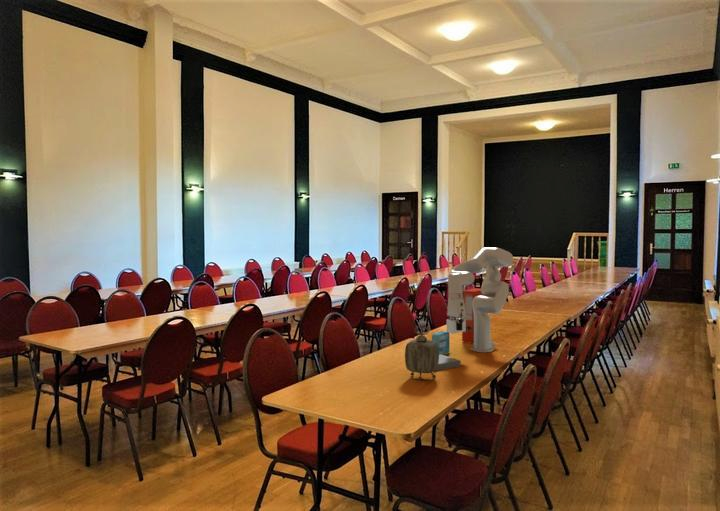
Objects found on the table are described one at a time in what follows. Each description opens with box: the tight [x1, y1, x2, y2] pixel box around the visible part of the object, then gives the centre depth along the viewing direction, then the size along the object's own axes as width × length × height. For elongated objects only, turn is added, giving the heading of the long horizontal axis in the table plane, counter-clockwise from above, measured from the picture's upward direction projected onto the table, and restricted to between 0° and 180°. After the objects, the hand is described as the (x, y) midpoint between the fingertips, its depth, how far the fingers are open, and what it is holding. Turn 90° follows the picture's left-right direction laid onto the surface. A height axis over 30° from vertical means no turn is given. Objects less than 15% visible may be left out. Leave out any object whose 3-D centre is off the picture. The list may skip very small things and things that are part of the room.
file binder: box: [461, 287, 484, 344], centre depth 329 cm, size 8×17×32 cm, turn 142°
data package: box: [431, 330, 450, 355], centre depth 295 cm, size 12×4×12 cm, turn 140°
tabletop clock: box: [404, 325, 439, 381], centre depth 246 cm, size 14×9×25 cm, turn 66°
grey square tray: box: [434, 354, 461, 371], centre depth 271 cm, size 16×16×3 cm
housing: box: [446, 317, 466, 334], centre depth 283 cm, size 9×5×8 cm, turn 119°
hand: (456, 328), depth 283 cm, fingers closed on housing, 5 cm apart
